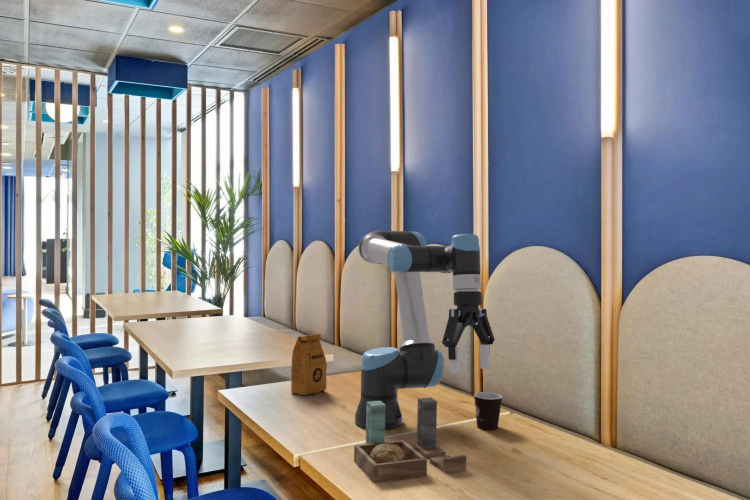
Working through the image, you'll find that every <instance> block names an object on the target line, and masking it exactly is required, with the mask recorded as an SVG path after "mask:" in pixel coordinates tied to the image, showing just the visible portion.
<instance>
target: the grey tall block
mask: <svg viewBox="0 0 750 500" xmlns="http://www.w3.org/2000/svg"><path fill="white" fill-rule="evenodd" d="M437 412H438V401H437V400H436V399H434V398H432V397H424V398H423V397H422V398H417V422H416V428H417V429H416V443H413V446H412V448H414V449H415V450H416V451H417V452H419V453H420V454H421V455H422V456H423V457H425V458H426V459H430V458H434V457H441V456H447V455H446V454H447V452H446V451H447V450H444V449H443V448H442V447H441V446H440V445H438V444H437V415H438V413H437Z"/></svg>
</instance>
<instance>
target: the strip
mask: <svg viewBox="0 0 750 500" xmlns="http://www.w3.org/2000/svg"><path fill="white" fill-rule="evenodd" d="M429 463H430V464H431V465H433V466H434V467H435V468H437V469H438V470H439V471H441V472H443V473H444V474H447V475H448V474H450V473H451V474H452V473H457V472H464V471H466V470H467V455H465V454H459V455H453V456H452V455H448V454H447V455H446V456H441V457H432V458H429Z"/></svg>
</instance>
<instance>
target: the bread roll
mask: <svg viewBox="0 0 750 500" xmlns="http://www.w3.org/2000/svg"><path fill="white" fill-rule="evenodd" d="M370 458H371V459H372V460H373V461H374V462H375V463H376V464H379V463H387V462H396V461H404V460H408V458H407V455H406V453H405V451H404V450H403V449H402V448H401V447H400V446H398V445H396V444H391V443H390V444H380V445H377V446H376V447H374V448H373V450H372V452H371V454H370Z"/></svg>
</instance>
